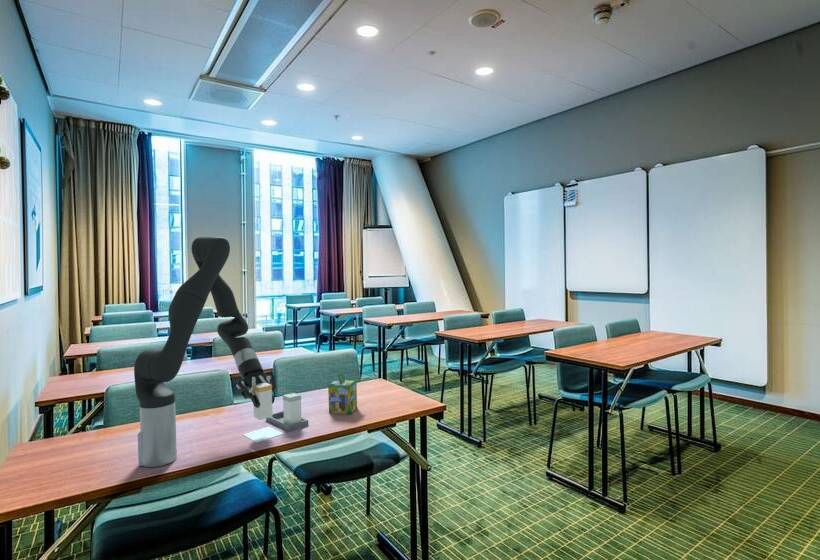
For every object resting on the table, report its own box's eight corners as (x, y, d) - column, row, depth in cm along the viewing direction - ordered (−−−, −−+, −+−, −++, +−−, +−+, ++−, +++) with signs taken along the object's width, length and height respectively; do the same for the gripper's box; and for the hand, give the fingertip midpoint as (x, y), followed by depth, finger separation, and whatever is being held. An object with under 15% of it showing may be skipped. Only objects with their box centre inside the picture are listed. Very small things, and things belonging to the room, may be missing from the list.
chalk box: (350, 415, 171) (349, 377, 170) (328, 414, 173) (327, 376, 172) (358, 407, 180) (357, 371, 179) (336, 406, 182) (336, 371, 181)
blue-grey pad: (242, 435, 151) (242, 434, 151) (269, 427, 158) (269, 426, 158) (256, 443, 144) (256, 442, 144) (284, 435, 151) (284, 433, 151)
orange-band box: (253, 417, 151) (252, 385, 151) (266, 413, 155) (265, 382, 154) (260, 420, 148) (259, 387, 148) (272, 416, 151) (271, 384, 151)
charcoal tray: (266, 421, 165) (265, 415, 165) (285, 416, 171) (285, 410, 171) (288, 432, 154) (288, 425, 154) (308, 426, 160) (308, 420, 160)
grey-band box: (283, 425, 160) (283, 395, 159) (294, 422, 163) (294, 392, 163) (290, 428, 156) (289, 397, 156) (301, 425, 160) (301, 394, 159)
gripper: (231, 361, 151) (248, 403, 143) (270, 354, 161) (288, 393, 153) (225, 374, 155) (242, 416, 147) (263, 366, 165) (281, 405, 157)
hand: (265, 404), depth 150 cm, fingers closed on orange-band box, 4 cm apart
